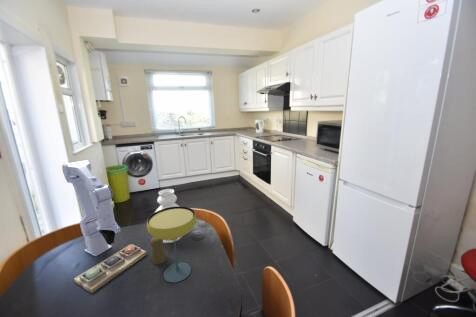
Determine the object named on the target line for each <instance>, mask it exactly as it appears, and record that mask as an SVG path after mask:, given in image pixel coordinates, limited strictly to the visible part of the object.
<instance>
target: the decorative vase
mask: <svg viewBox="0 0 476 317" xmlns="http://www.w3.org/2000/svg"><path fill="white" fill-rule="evenodd" d="M158 195H159V196H158V197H157V200H156V201H157V203H158V204H159V206H158V208H157V209H156V210H155V211H154V213H155V212H157V211H159V210H162V209H165V208H169V207H179V206H180V205H178V204H177V203H176V201H177V200H178V197H177V195H176V194H175V189H173V188H166V189H161V190H159V191H158ZM182 238H183V236H181V237H179V238H177V240H175V242H177V241H179V240H180V239H182ZM171 243H174V241H172V240H170V239H169V240H163V243H162V244H171Z"/></svg>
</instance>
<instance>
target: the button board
mask: <svg viewBox="0 0 476 317" xmlns="http://www.w3.org/2000/svg"><path fill="white" fill-rule="evenodd" d="M128 246H135V251H134V252H132V253H131V254H129V255H127V254H125V251H124V249H125V248H126V247H128ZM147 254H148V252H147V251H146V250H144V249H142V248H141V247H140V246H137V245H135V244H132V243H131V244H128V245H127V246H124V247H123V248H121V249H120V250H118V251H116V252H115V253H113V254H112V255H110V256H109V257H107V258H105V259H104V260H102V261H100V262H99V263H97V264H96V265H94V266H92V267H90V268H89V269H87V270H85V271H84V272H82V273H81V274H79V275H78V276H76V277H74V278H73V280H74V282H75V283H76V284H77V285H79V287H82V288H83V289H84V290H85V291H88V292H89V293H91V294H93V293H95V292H96V291H97V290H98V289H99V288H100V289H101V287H103V286H104V285H106V284H107V283H108V282H110V281H111V280H113V279H114V278H116V277H117V276H118V275H120V274H122V273H123V272H124V271H125V270H127V269H128V268H130V267H131V266H133V265H134V264H135V263H137V262H138V261H140V260H141V259H143V258H144V257H145V256H146V255H147ZM112 256H118V258H119V261H118V262H117V263H115V264H114V265H112V266H111V267H110V266H108V265H107V262H106V261H107V259H108V258H110V257H112ZM93 268H98V269H99V272H100V274H98V275H97V276H95V277H94V278H92V279H91V280H88V279H86V272H87V271H89V270H90V269H93Z"/></svg>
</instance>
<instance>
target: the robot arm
mask: <svg viewBox="0 0 476 317" xmlns="http://www.w3.org/2000/svg"><path fill="white" fill-rule="evenodd" d="M61 170H62V174H63V176H64V179H65V181H66V183H67V184H68V183H69V184H72V186H73V188H74V190H75V193H76V196H77V199H78V202H79V204H80V207H81V209H82V212H83V214H84V216H83V217H82V218H81V219H80V221H79V226H80V230H81V234H82V235H83V237H84V244H85V247H86V248H85V249H84V252H86V253H88V254H90V255H92V256H94V257H97V256H99V255H101V254H102V253H104V252H106V251H108V250H110V249H112V248H113V246H112V244H114V243H115V238H116V234H118V233H121V226H119V225H118V223H117V222H116V220H115V215H114V209H113V208H114V207H113V203H112V202H113V201H112V199H113V198H114V192H113V189H112V187H111V186H110V184H104V183H103V181H101V179H100V178H99V177H98V176H94V174H93V173H92V164H91V162H90V161H89V160H87V159H85V160H79V161H75V162H67V163H63V164H62V166H61Z"/></svg>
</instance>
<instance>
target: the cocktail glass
mask: <svg viewBox="0 0 476 317" xmlns="http://www.w3.org/2000/svg"><path fill="white" fill-rule="evenodd" d="M196 223H197V215H196V212H195V210H193V209H192V208H190V207H187V206H180V205H179V207H169V208H165V209H162V210H159V211H157V212H155V211H154V213H152V214H151V215H150V216H149V217H148V218H147V220H146V229H147V232H148V234H149V235H150V236H152V238H153V237H155V238H158V239H163V240H169V239H170V240H172V241H174V242H173V246H174V248H173V249H174V257H175V258H174V260H175V263H173V264H171V265H169V266H168V267H167V268H165V270H164V272H163V278H164V280H165V281H166V282H168V283H171V284H172V283H180V282H183V281H184V280H186V279H187V278H188V277H189V276H190V275H191V272H192V267H191V266H190V264H189V263H187V262H181V261H180V262H179V261H178V255H177V246H176V241H175V240H177V238H179V237H181V236H182V237H183V236H185V235H187V234H188V233H189V232H191V231H192V230H193V229H194V227H195V225H196ZM182 237H181V238H182ZM177 241H178V240H177Z"/></svg>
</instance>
